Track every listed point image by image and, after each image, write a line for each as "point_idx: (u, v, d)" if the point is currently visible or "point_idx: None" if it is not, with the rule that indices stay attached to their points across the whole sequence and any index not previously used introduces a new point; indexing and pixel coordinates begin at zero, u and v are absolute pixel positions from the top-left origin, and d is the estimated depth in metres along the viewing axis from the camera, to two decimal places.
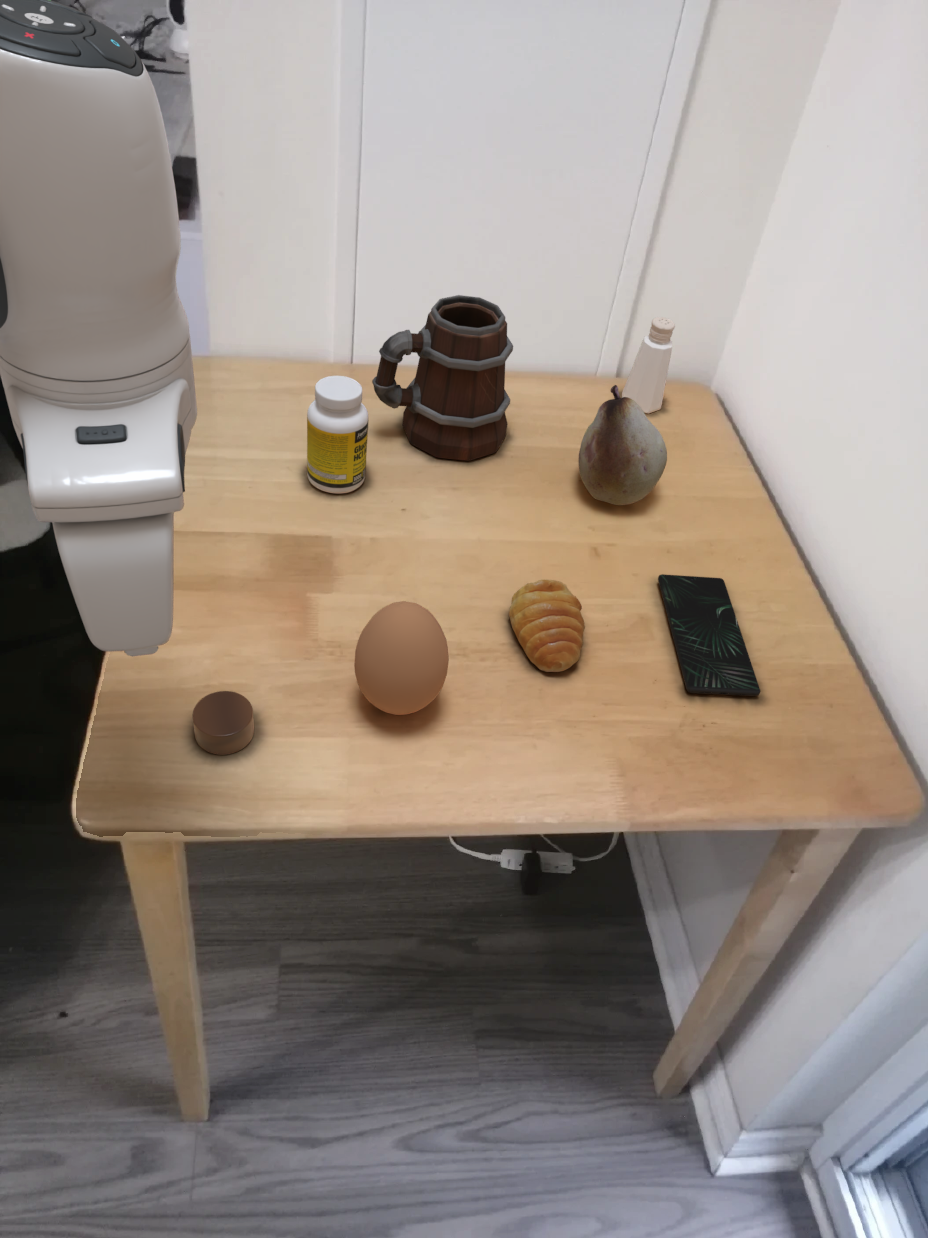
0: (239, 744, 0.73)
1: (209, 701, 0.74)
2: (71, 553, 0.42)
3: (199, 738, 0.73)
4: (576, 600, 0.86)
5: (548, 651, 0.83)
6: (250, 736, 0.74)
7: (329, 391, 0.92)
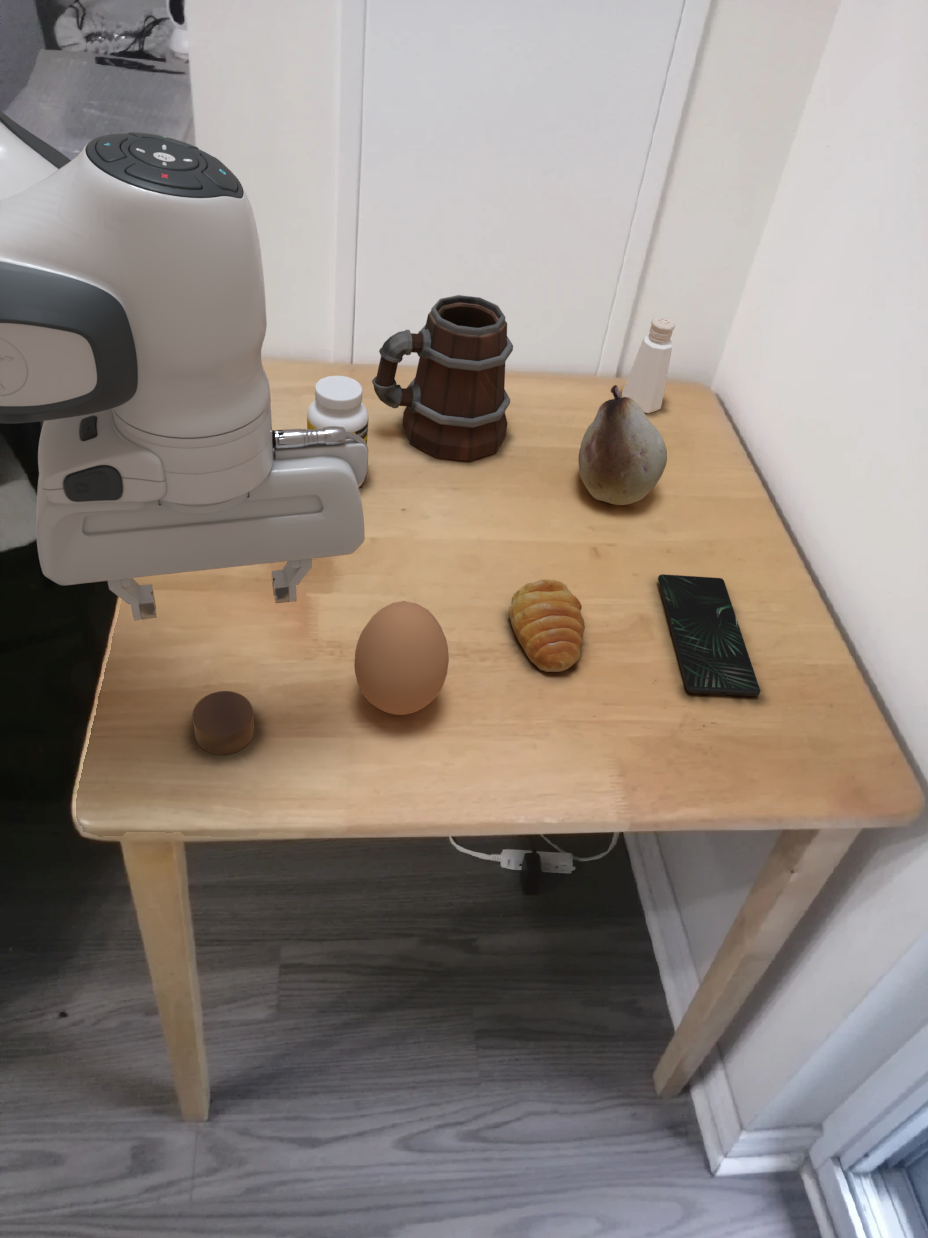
0: (239, 744, 0.73)
1: (209, 701, 0.74)
2: None
3: (199, 738, 0.73)
4: (576, 600, 0.86)
5: (548, 651, 0.83)
6: (250, 736, 0.74)
7: (329, 391, 0.92)
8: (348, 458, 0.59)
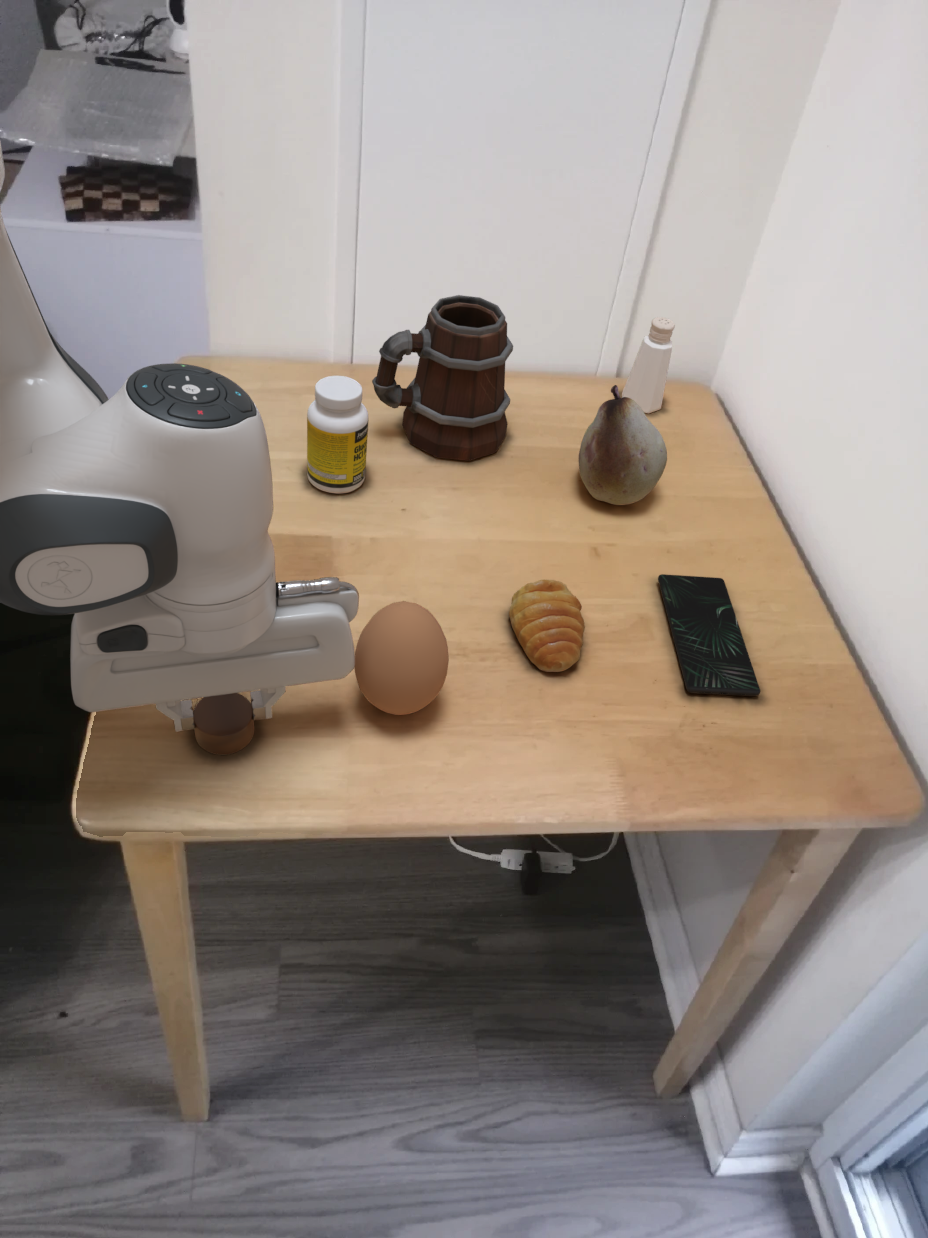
0: (239, 744, 0.73)
1: (209, 701, 0.74)
2: (74, 616, 0.65)
3: (199, 738, 0.73)
4: (576, 600, 0.86)
5: (548, 651, 0.83)
6: (250, 736, 0.74)
7: (329, 391, 0.92)
8: (341, 602, 0.68)
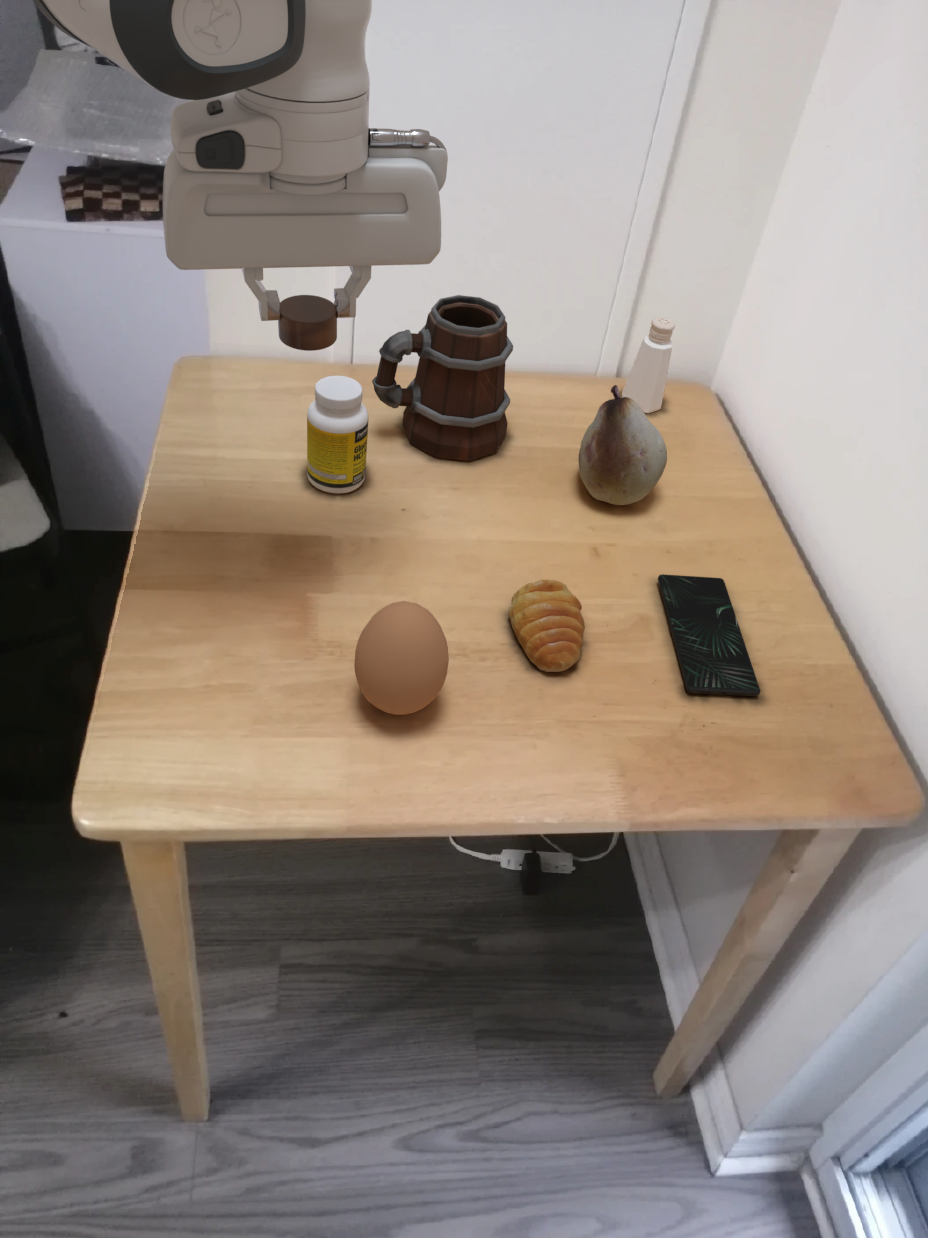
0: (324, 340, 0.73)
1: (293, 300, 0.74)
2: (168, 159, 0.65)
3: (284, 331, 0.73)
4: (576, 600, 0.86)
5: (548, 651, 0.83)
6: (334, 336, 0.74)
7: (329, 391, 0.92)
8: (430, 162, 0.68)
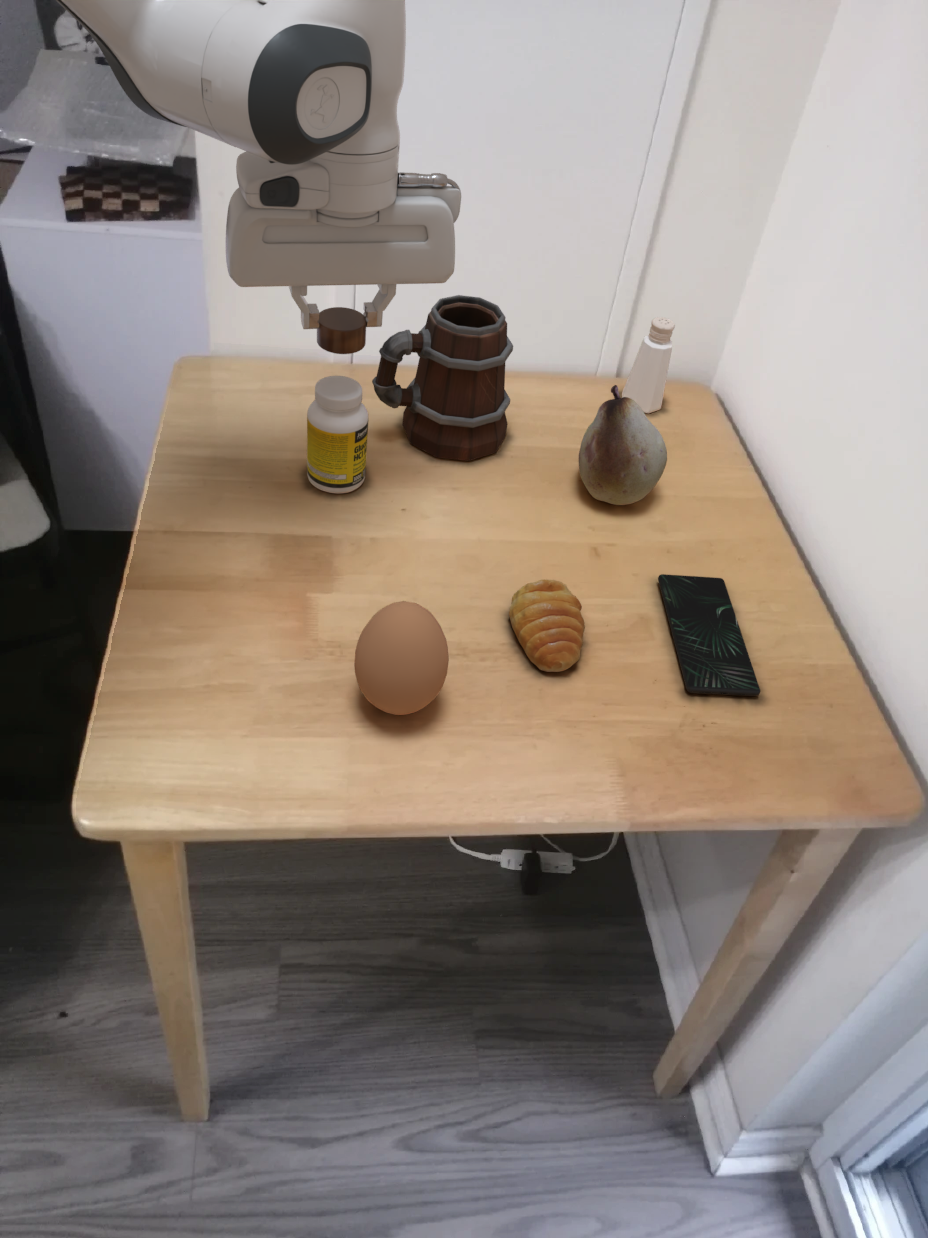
0: (355, 345, 0.87)
1: (329, 311, 0.88)
2: (232, 196, 0.79)
3: (322, 338, 0.87)
4: (576, 600, 0.86)
5: (548, 651, 0.83)
6: (363, 342, 0.88)
7: (329, 391, 0.92)
8: (447, 200, 0.82)
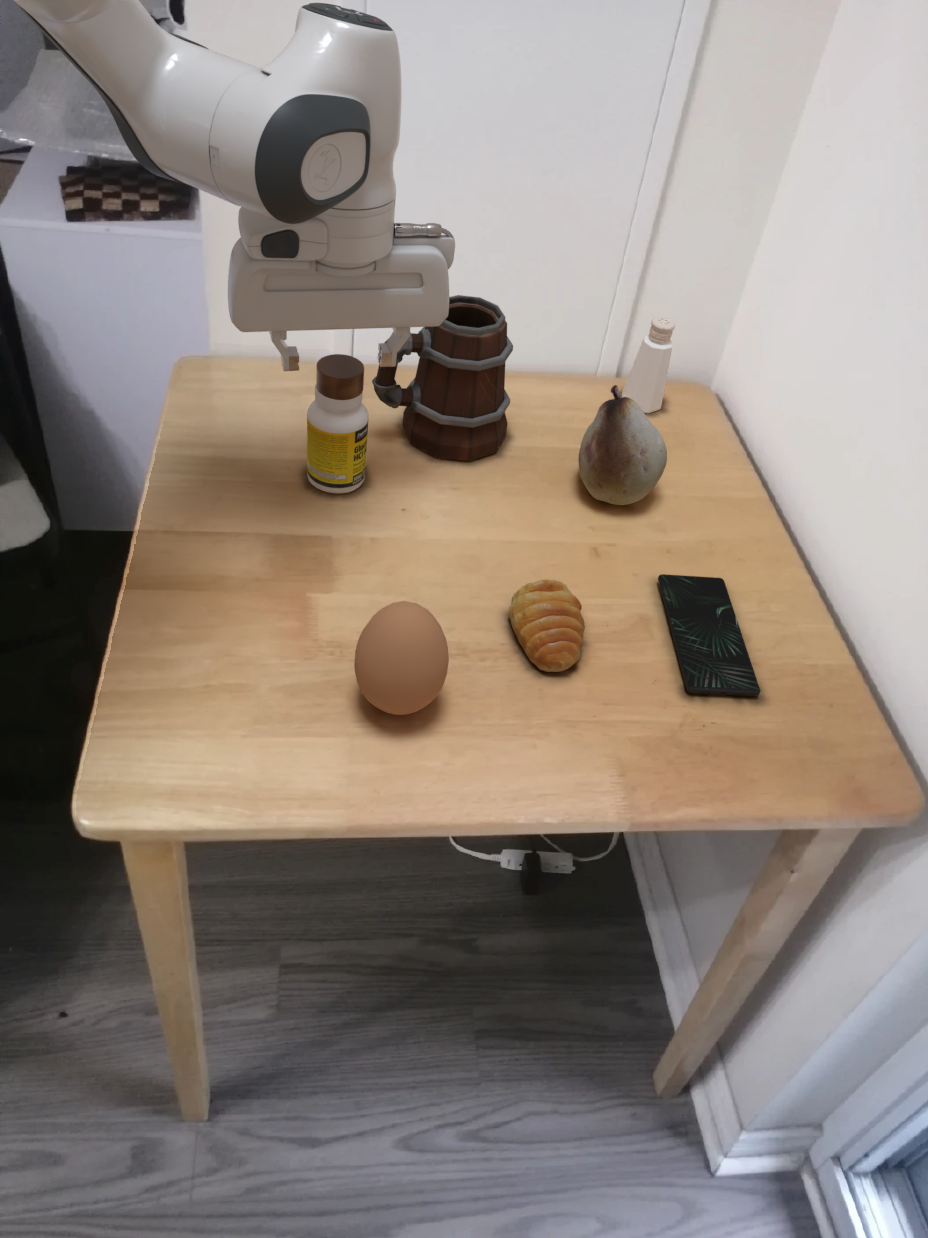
0: (354, 391, 0.91)
1: (328, 359, 0.92)
2: (234, 245, 0.82)
3: (322, 385, 0.91)
4: (576, 600, 0.86)
5: (548, 651, 0.83)
6: (361, 388, 0.92)
7: None
8: (441, 248, 0.85)
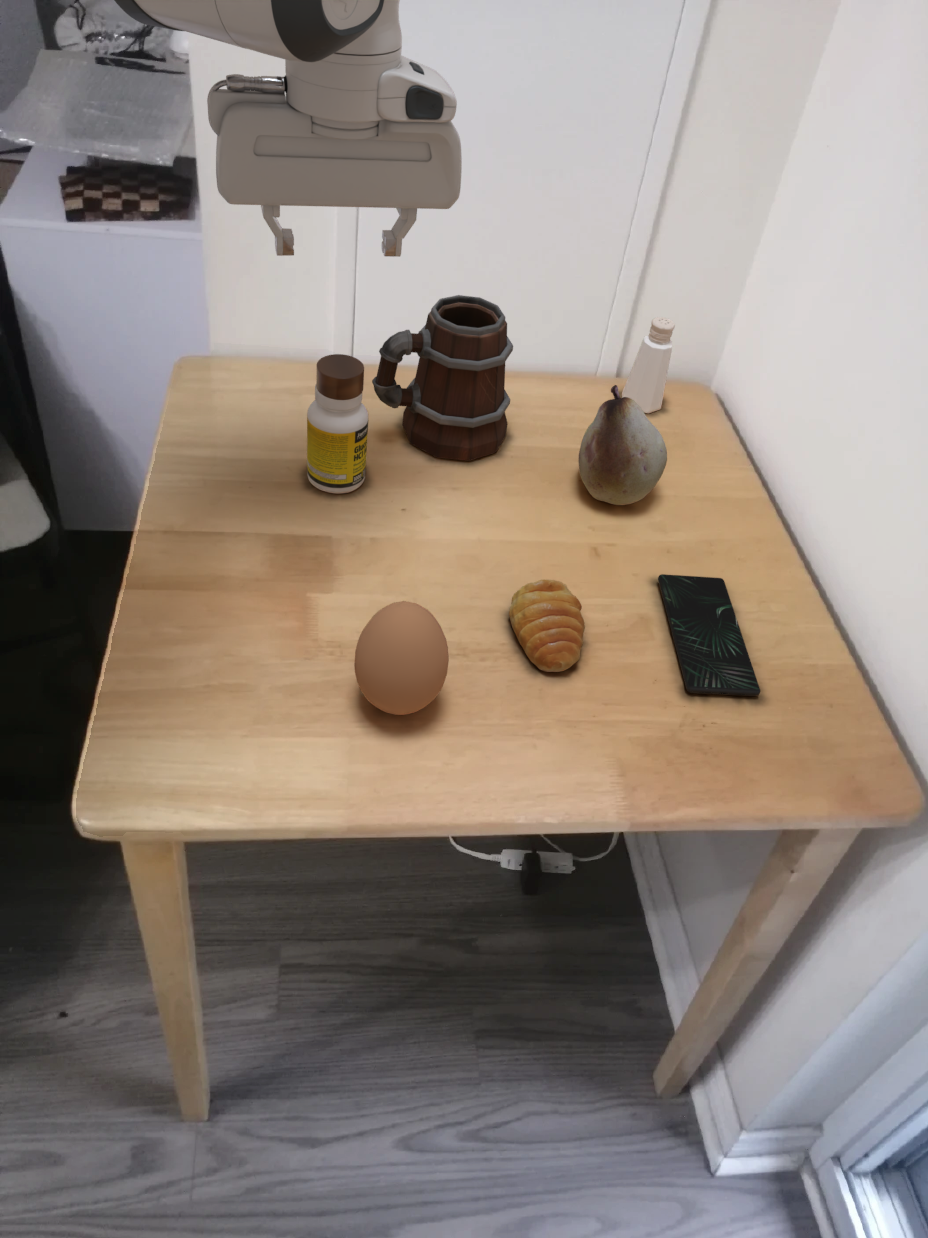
0: (354, 391, 0.91)
1: (328, 359, 0.92)
2: None
3: (322, 385, 0.91)
4: (576, 600, 0.86)
5: (548, 651, 0.83)
6: (361, 388, 0.92)
7: None
8: None
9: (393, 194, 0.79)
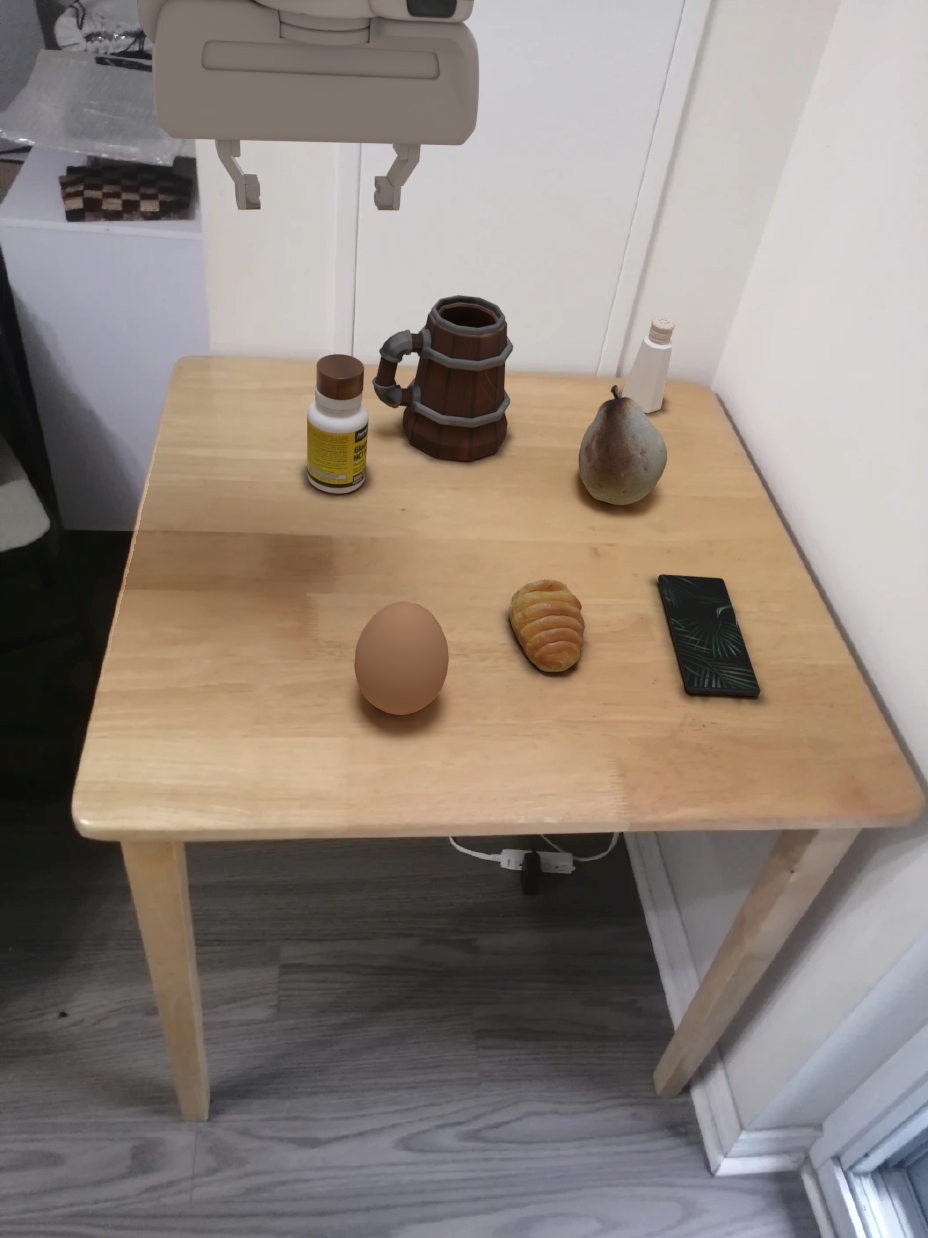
0: (354, 391, 0.91)
1: (328, 359, 0.92)
2: (474, 37, 0.57)
3: (322, 385, 0.91)
4: (576, 600, 0.86)
5: (548, 651, 0.83)
6: (361, 388, 0.92)
7: None
8: None
9: (390, 124, 0.60)
